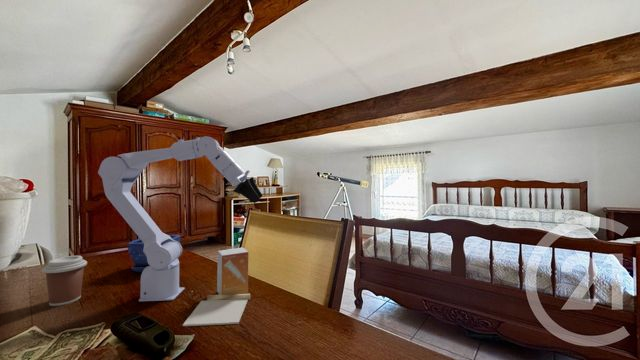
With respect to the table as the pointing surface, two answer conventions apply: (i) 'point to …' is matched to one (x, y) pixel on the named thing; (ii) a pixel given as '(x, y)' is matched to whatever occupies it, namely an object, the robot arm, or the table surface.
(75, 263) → the coffee cup
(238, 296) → the oak strip
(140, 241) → the flower pot
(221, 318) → the mat
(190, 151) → the robot arm
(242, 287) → the small box
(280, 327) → the table surface
